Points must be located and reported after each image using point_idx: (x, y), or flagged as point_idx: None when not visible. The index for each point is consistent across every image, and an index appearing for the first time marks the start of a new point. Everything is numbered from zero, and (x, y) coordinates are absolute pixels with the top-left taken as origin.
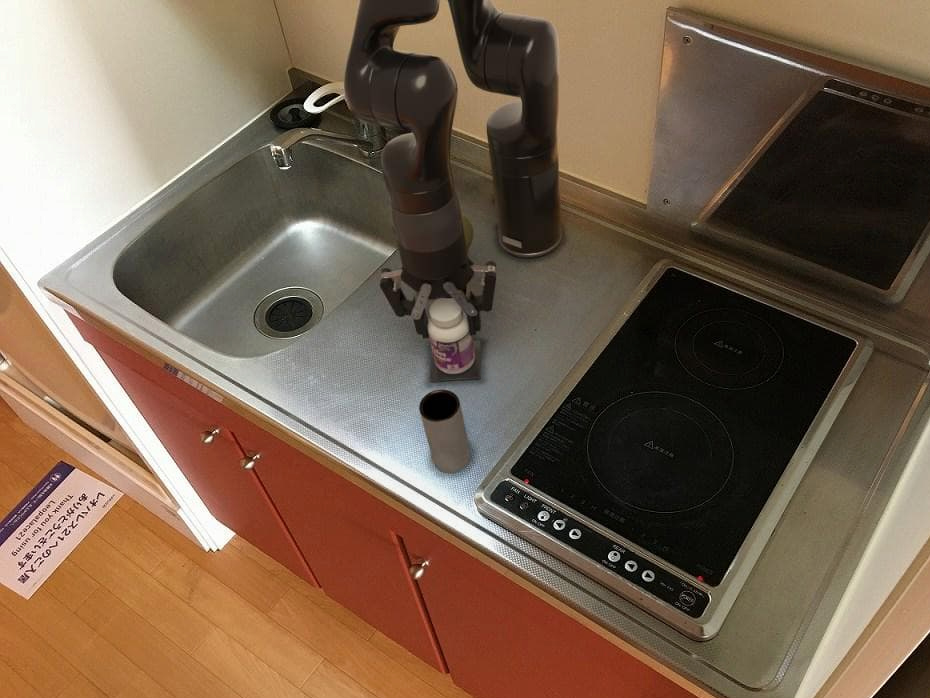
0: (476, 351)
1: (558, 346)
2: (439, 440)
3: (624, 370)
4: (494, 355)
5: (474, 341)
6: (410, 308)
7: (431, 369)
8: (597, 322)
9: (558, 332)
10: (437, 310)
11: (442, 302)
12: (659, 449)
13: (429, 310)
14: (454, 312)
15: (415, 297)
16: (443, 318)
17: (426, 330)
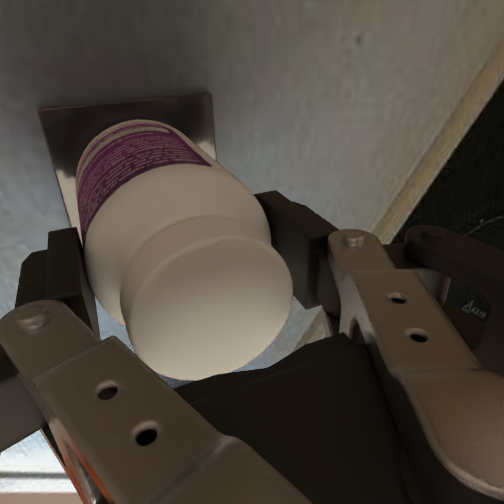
0: (203, 143)
1: (400, 107)
2: None
3: (490, 171)
4: (250, 145)
5: (192, 100)
6: (27, 433)
7: (74, 226)
8: (496, 17)
9: (409, 53)
10: (179, 336)
11: (197, 282)
12: (475, 311)
13: (132, 342)
14: (264, 326)
15: (72, 472)
16: (217, 369)
17: (96, 313)
